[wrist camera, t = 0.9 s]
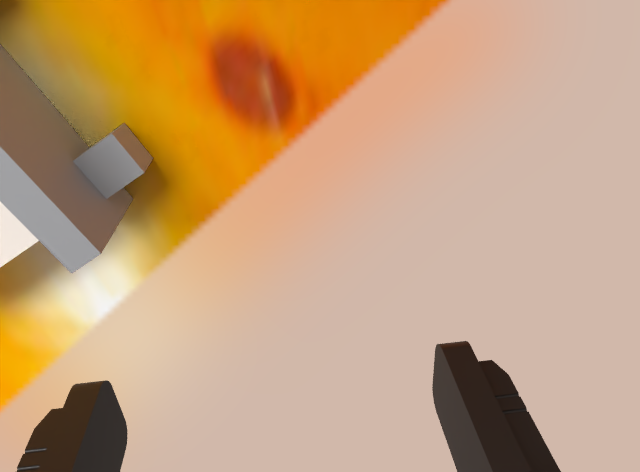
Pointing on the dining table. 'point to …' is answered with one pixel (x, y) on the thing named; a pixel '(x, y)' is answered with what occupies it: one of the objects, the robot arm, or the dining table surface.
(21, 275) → the dining table surface
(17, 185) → the backstop
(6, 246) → the socket
